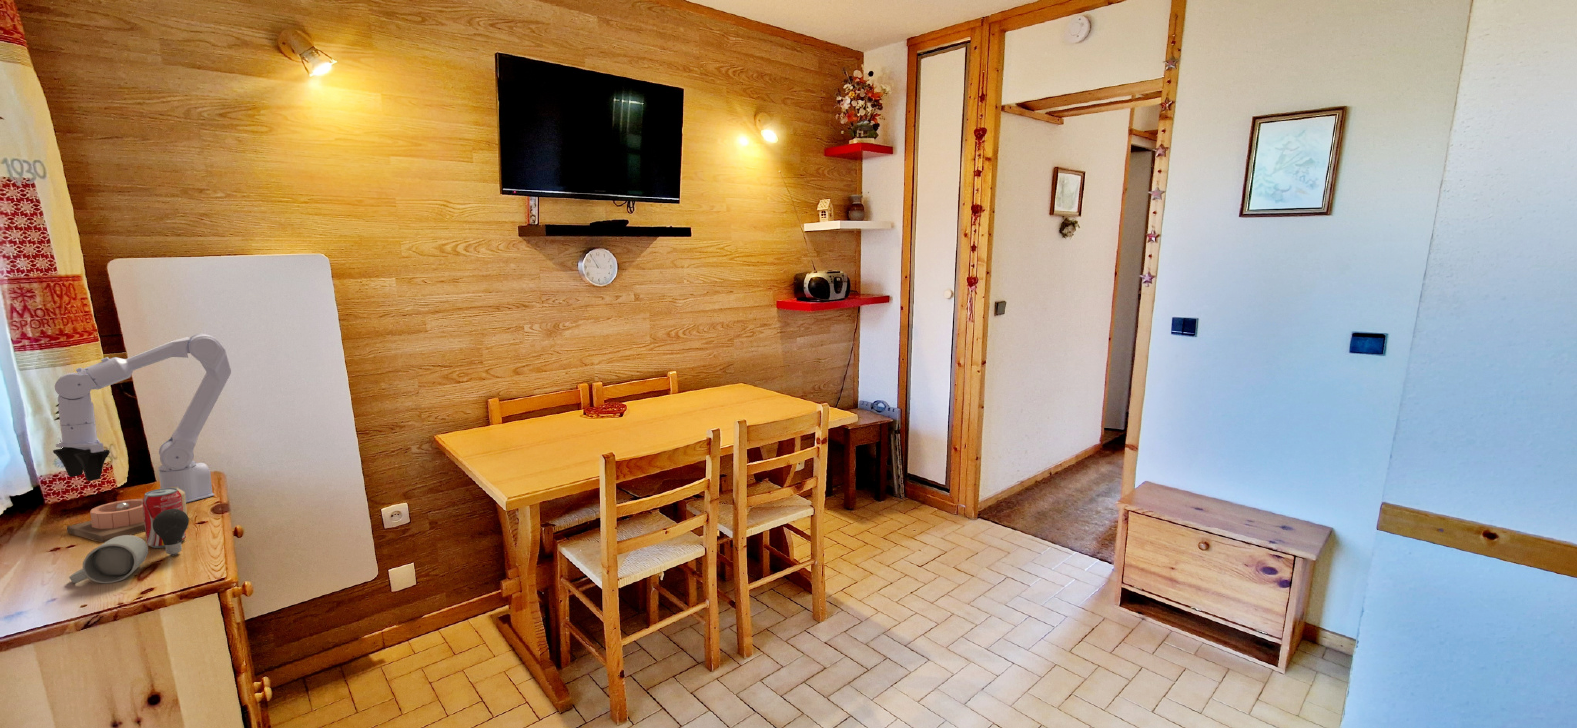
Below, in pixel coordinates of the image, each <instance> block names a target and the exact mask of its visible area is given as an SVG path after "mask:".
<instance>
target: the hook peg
mask: <svg viewBox="0 0 1577 728" xmlns="http://www.w3.org/2000/svg"><path fill="white" fill-rule="evenodd" d="M129 507H130V506H129V504H128V503H125V502H122V503H119V504H118V505H117V506H116V509H117V511H121V510H127V509H129ZM117 528H119V527H117Z"/></svg>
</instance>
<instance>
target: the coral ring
mask: <svg viewBox="0 0 1577 728" xmlns="http://www.w3.org/2000/svg"><path fill="white" fill-rule="evenodd" d="M142 500H143V498H135V499H134V498H133V499H130V498H129V499H125V500H117V501H112V502H109V503H105V504H101V505H98V506H96V507H94V508H91V510H90V512H89V513H90V521H91V523H92V527H93V528H98V529H105V528H118V527H123V526H129V525H133V524H137V523H140V522H144V513H143V505H142ZM122 502H125V503H128V504H129V506H130V507H129V509H127V510H121V511H117V509H116V506H117V505H118V504H119V503H122Z"/></svg>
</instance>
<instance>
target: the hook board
mask: <svg viewBox="0 0 1577 728" xmlns="http://www.w3.org/2000/svg"><path fill="white" fill-rule="evenodd" d="M66 531H67V532H66V533H67V534H70V535H73V536H78V537H81V538H85V539H88V540H92V541H96V542H100V543H105V542H106V541H108V540H110V539H112V538H114V537H118V536H123V535H135V534H138V533H142V532H146V531H145V522H140V523H137V524H133V525H129V526H123V527H119V528H118V527H117V528H105V529H98V528H93V527H92V523H91V520H88V521H84V522H80V523H76V524H72V525H67V526H66Z"/></svg>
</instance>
